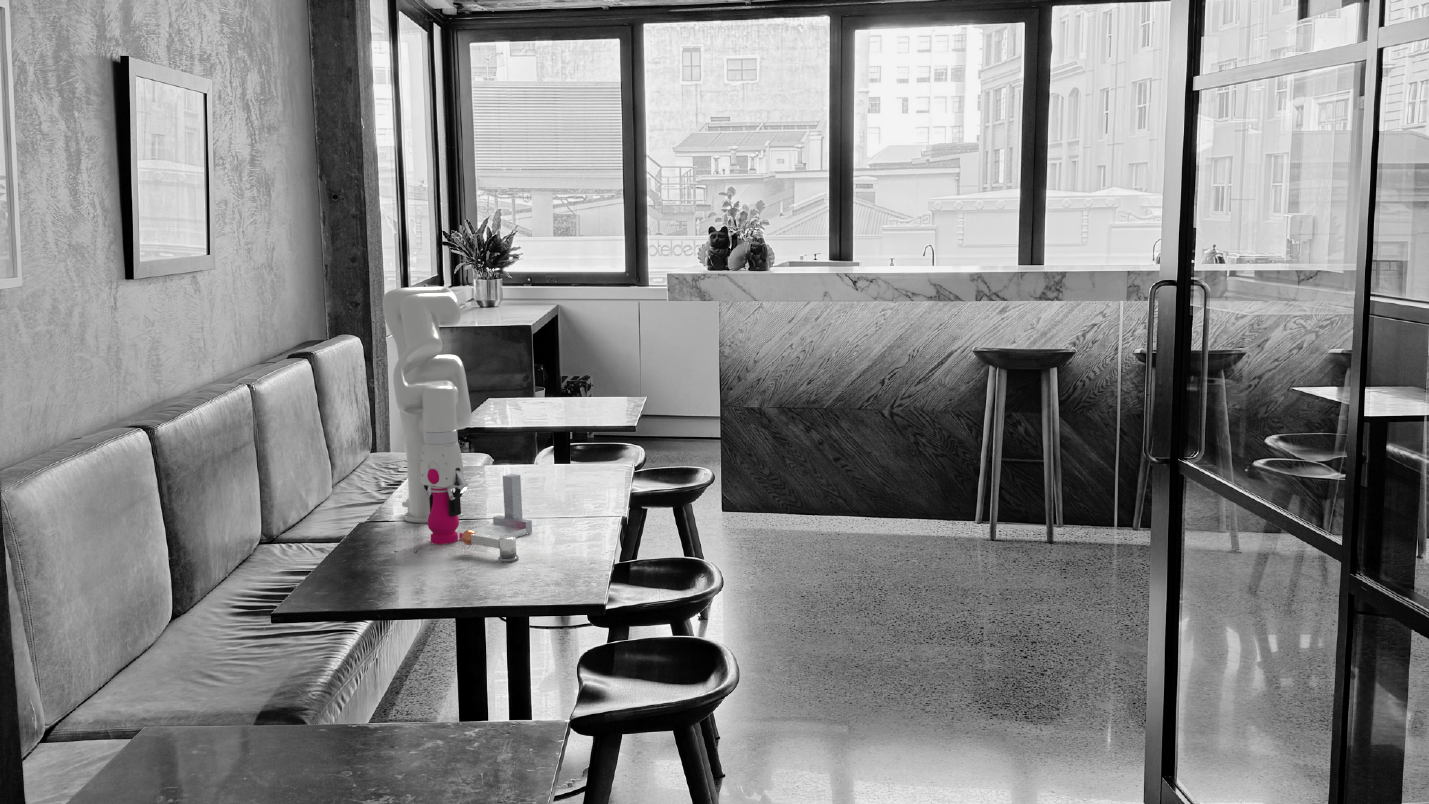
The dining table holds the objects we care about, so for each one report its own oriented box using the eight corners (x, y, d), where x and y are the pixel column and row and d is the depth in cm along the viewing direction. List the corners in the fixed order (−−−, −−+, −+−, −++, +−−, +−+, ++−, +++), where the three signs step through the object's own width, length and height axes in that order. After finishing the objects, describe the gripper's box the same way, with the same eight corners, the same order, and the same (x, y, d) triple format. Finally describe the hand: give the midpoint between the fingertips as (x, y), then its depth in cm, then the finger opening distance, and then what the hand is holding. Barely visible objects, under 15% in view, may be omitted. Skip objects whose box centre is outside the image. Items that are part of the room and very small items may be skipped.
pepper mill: (452, 545, 271) (447, 460, 268) (423, 544, 273) (418, 460, 270) (465, 537, 278) (460, 454, 275) (436, 536, 280) (431, 454, 277)
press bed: (428, 548, 269) (424, 492, 267) (508, 524, 290) (505, 473, 288) (508, 563, 254) (505, 504, 253) (586, 537, 275) (584, 483, 273)
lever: (519, 555, 258) (519, 535, 257) (508, 558, 255) (507, 539, 254) (470, 546, 267) (469, 527, 266) (458, 549, 264) (457, 531, 263)
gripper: (403, 437, 274) (408, 513, 277) (454, 443, 264) (459, 521, 267) (428, 432, 280) (432, 506, 283) (479, 438, 271) (483, 514, 273)
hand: (445, 513), depth 275 cm, fingers closed on pepper mill, 5 cm apart
